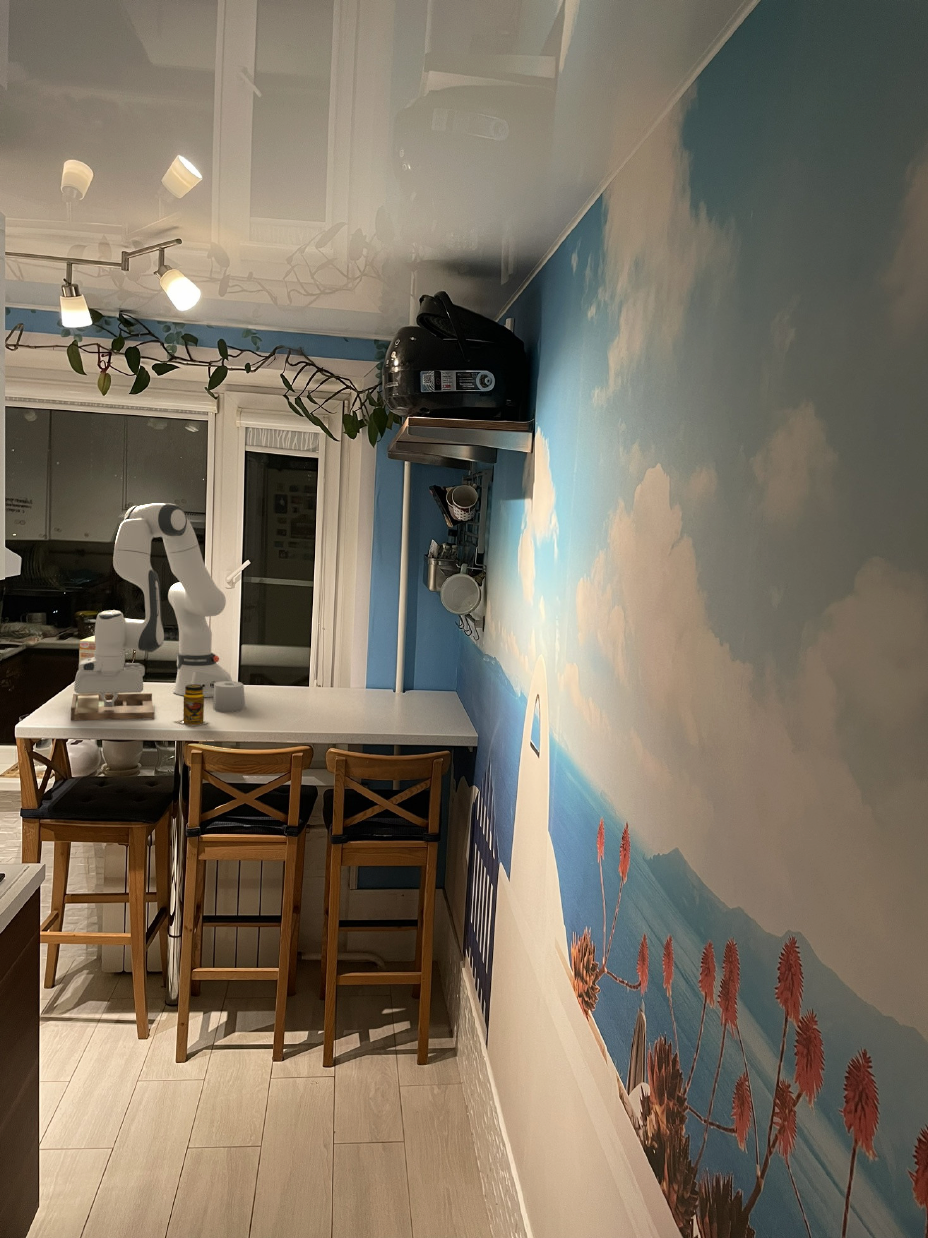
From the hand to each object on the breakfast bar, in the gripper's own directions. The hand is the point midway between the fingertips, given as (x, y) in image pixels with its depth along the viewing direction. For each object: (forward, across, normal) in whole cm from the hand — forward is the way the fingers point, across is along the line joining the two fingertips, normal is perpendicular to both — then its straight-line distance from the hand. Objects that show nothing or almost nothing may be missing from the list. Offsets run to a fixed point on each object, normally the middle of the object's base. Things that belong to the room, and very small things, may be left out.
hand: (109, 706), depth 286 cm
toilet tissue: (+3, -38, -6) cm, 39 cm away
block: (+1, +6, 0) cm, 6 cm away
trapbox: (+3, -1, -4) cm, 5 cm away
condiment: (+3, -24, +10) cm, 27 cm away
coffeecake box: (+3, +4, -31) cm, 32 cm away
